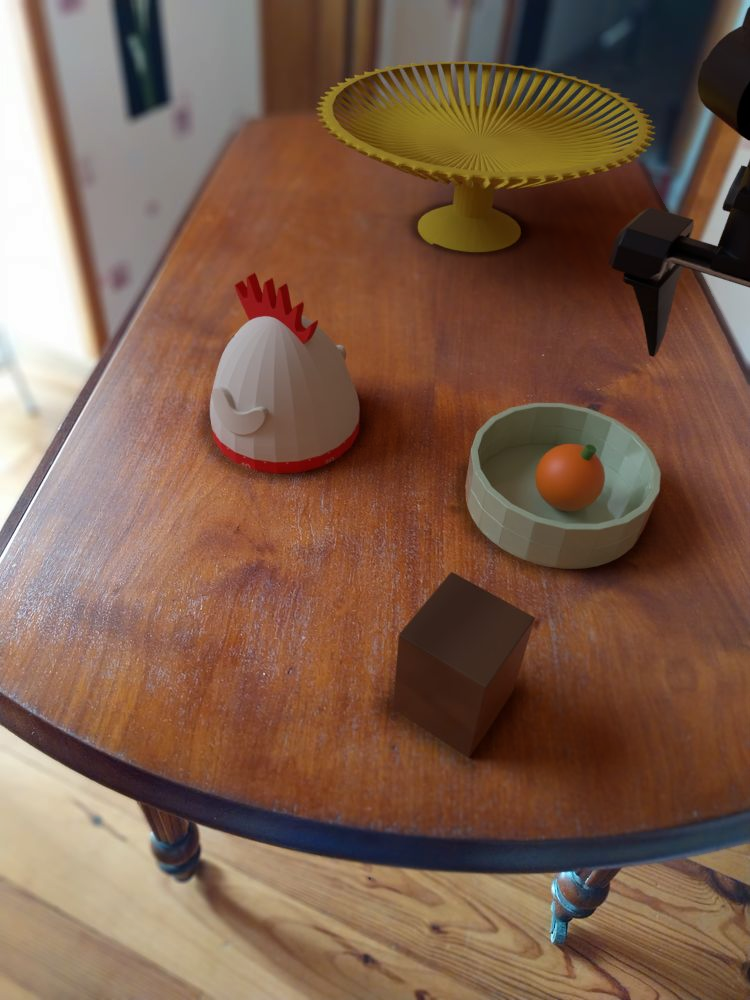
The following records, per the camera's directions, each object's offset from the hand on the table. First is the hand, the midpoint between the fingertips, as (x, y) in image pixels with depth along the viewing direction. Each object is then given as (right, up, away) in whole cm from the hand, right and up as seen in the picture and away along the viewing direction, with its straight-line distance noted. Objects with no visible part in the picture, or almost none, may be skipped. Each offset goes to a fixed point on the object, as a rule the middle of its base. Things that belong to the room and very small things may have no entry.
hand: (710, 375), depth 58 cm
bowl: (-11, -10, +7) cm, 16 cm away
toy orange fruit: (-11, -10, +6) cm, 16 cm away
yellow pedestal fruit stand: (-13, +26, +43) cm, 52 cm away
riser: (-21, -24, -7) cm, 32 cm away
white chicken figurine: (-34, -3, +13) cm, 37 cm away
